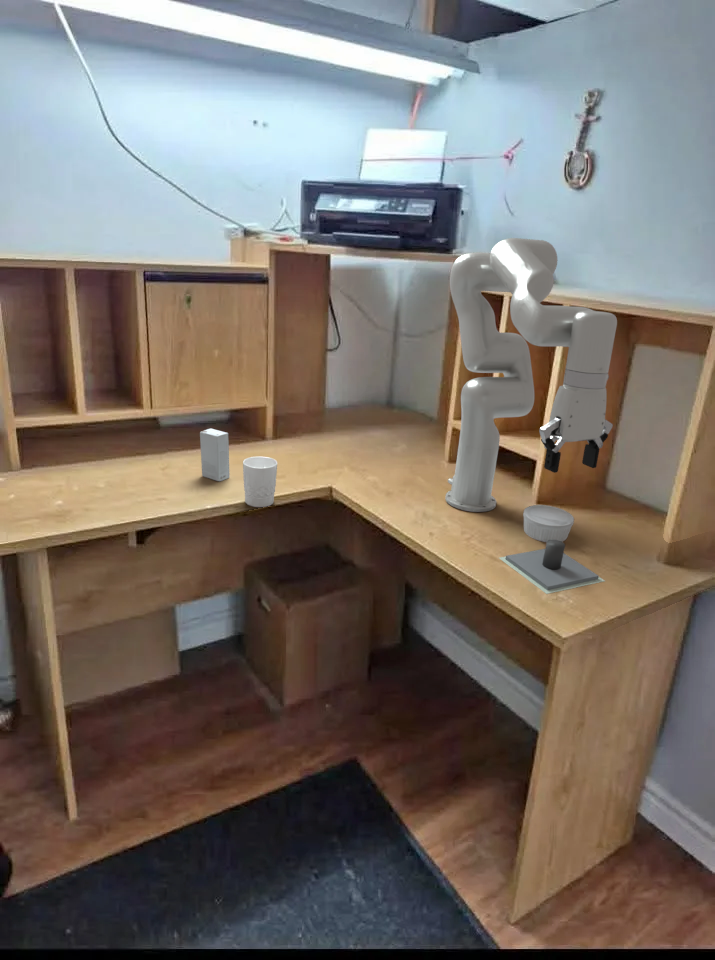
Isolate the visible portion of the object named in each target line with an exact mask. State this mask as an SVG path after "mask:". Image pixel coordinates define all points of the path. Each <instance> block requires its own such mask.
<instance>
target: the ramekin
mask: <svg viewBox="0 0 715 960" xmlns="http://www.w3.org/2000/svg"><path fill="white" fill-rule="evenodd" d="M522 517H523V531H524V533H525V534H526V535H527V536H528V537H530V538H532V539H533V540H535V541H536V540H537V541H539V542H544V543H547V541H548V540H559V541H561V542H564V541H566V540H567V538H568V537H569V534H570V532H571V529H572V526H573V525H574V523H575V518H574V516H573V515H572V513H570V512H569V511H566V510H565V509H563V508H559V507H556V506H553V505H545V504H535V505H534V504H533V505H530V506H529V505H528V506H527V507H526V508H524V510H523V515H522Z"/></svg>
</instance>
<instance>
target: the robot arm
mask: <svg viewBox="0 0 715 960" xmlns="http://www.w3.org/2000/svg"><path fill="white" fill-rule="evenodd" d="M557 266H558V254H557V251H556V248H555V247H554V246H553V244H552V243H550V242H548V241H546V240H543V239H535V238H534V239H532V238H531V239H530V238H529V239H528V238H519V237H510V238H509V237H508V238H505V239H502V240H500V241H499V242H497V243H496V244H494V246H493V247H492V249H491V251H490V252H481V251H479V252H468V253H464V254H462V255H460V256H458V257H457V258H456V259H455V260H454V262H453V264H452V267H451V269H450V275H449V289H450V295H451V299H452V302H453V305H454V308H455V311H456V315H457V317H458V325H459V327H458V328H459V336H460V344H461V353H462V358H463V364H464V366H465V369H467V370H468V371H469V372H472V373H479V374H480V373H482V374H485V373H486V374H503V376H502V377H501V376H483V377H482V376H481V377H475V378H472V379H470V380H468V381H466V383H465V384H464V385H463V387H462V388H461V393H460V406H461V416H460V417H461V421H460V432H459V440H458V447H457V453H456V455H457V456H456V462H455V471H454V475H453V476H452V477H450V478H448V479H447V483H448V484H450V485H451V487H450V488H451V489H450V490H449V491H448V492H446V494H445V502H446V503H447V504H449V505H450V507H453V508H456V509H458V510H462V511H466V512H473V513H485V512H490V511H492V510H494V509H495V508H496V507H497V499H496V498H495V497H494V496H493V495H492V493H493V485H494V480H495V473H496V466H497V461H498V454H499V449H500V440H501V439H500V438H501V437H500V436H501V435H500V433H499V432H500V431H499V429H498V428H497V426H496V424H495V421H494V420H495V419H500V418H519V417H524V416H528V414H529V413H530V412H531V411H532V409H533V406H534V403H535V386H534V376H533V369H532V360H531V359H532V358H531V352H530V347H529V345H528V343H529V344H530V345H532V346H537V347H564V348H568V351H567V356H566V357H567V358H566V364H565V368H564V369H565V370H564V376H563V383H562V385H559V387H558V389H557V391H556V394H555V397H554V401H553V403H552V408H551V412H550V414H549V415H550V416H549V420H548V422H547V423H545V424H544V425H543V426H541V427H540V428H539V435H540V439H541V440H540V441H541V442H542V444H543V447H544V448H545V450H546V453H545V458H544V464H543V466H544V467H543V468H544V469H545V470H547V471H550V472H552V473H555V474H556V473H558V472H559V468H560V467H559V466H560V460H561V455H562V453H561V452H560V450H561V448H562V447H563V446H564V444H566V443H573V442H581V441H582V442H584V441H586V442H587V444H585V445H584V450H583V455H582V461H581V462H582V465H584V466H587V467H589V468H592V469H596V468H597V465H598V461H599V459H598V458H599V454H600V449H602V448H603V446H604V443H605V442H606V440H607V439H608V438H609V434H610V432H611V430H612V429H613V427H614V426H613V425H614V424H613V423H611V422H610V420H609V421H608V420H607V419H606V414H607V413H606V412H607V393H608V392H607V388H606V387H607V382H608V380H609V378H610V375H609V371H610V370H609V369H610V364H611V359H612V355H613V348H614V342H615V336H616V332H617V331H616V330H617V327H618V320H617V317H616V315H615V314H613V313H611V312H608V311H607V312H606V311H598V310H594V309H591V308H588V307H584V306H569V305H546V304H545V305H544V304H542V302H543V301H544V300H545V299H546V298H547V297H548V296H549V295H550V294H551V292H552V290H553V288H554V287H553V286H554V284H555V283H554V273H555V272H556V269H557ZM483 291H484V292H495V293H496V292H498V293H511V299H510V304H509V305H510V308H509V312H510V319H511V322H512V324H513V326H514V327H515V328H516V330H517V332H518V333H519V334H518V333H515V332H499V330H498V329H497V325H496V315H495V312H494V309H493V308H492V306H491V303H490V302H489V301H488V300H487V299H486V298H485V297H484V295H483V294H482V292H483ZM556 441H557V442H556ZM555 442H556V443H555Z"/></svg>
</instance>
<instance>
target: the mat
mask: <svg viewBox="0 0 715 960" xmlns="http://www.w3.org/2000/svg"><path fill="white" fill-rule="evenodd" d="M506 556H507V555H505V556H501V557H498V559H499V560H501V561H502V562H503V563H505V564H506V565H507V566H509V567H510V568H511V569H513V570H514V571H515V572H517V573H518V574H519V575H521V576H522V577H523V578H524V579H525V580H527V581H528V582H530V584H533V585H534V586H535V587H537V588H538V589H539V590H541V591H542V592H543V593H545V594H546V595H548V594H553V593H557V592H562V591H567V590H571V589H575V588H580V587H585V586H589V585H593V584H597V583H598V584H599V583H602V582H603V583H604V582H606V580H604V579H603V578H602V577H600V576H599V577H598V579H597V580H592V581H588V582H583V583H579V584H574V585H569V586H565V587H560V588H555V589H551V590H546V589H545V588H543V587H542V586H541V585H539V584H538V583H537V582H535V581H534V580H533V579H531V578H530V577H529V576H527V575H526V574H525V573H523V572H522V571H521V570H519V569H518V568H517V567H515V566H514V565H512V564H511V563H510V562H508V561H507V560H506V559H505V558H506Z"/></svg>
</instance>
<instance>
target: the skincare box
mask: <svg viewBox="0 0 715 960" xmlns="http://www.w3.org/2000/svg"><path fill="white" fill-rule="evenodd" d="M199 437H200V438H199V439H200V441H199V443H200V458H201V459H200V460H201V461H200V462H201V476H202V477H204V478H207V479H210V480H213V481H217V482H223V481H225V480H228V479H229V478H230V475H231V474H230V453H229V451H230V450H229V449H230V447H229V444H230V443H229V433H228V432H225V431H222V430H218V429H214V428H207V429H204V430H202V431H200V432H199Z"/></svg>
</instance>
